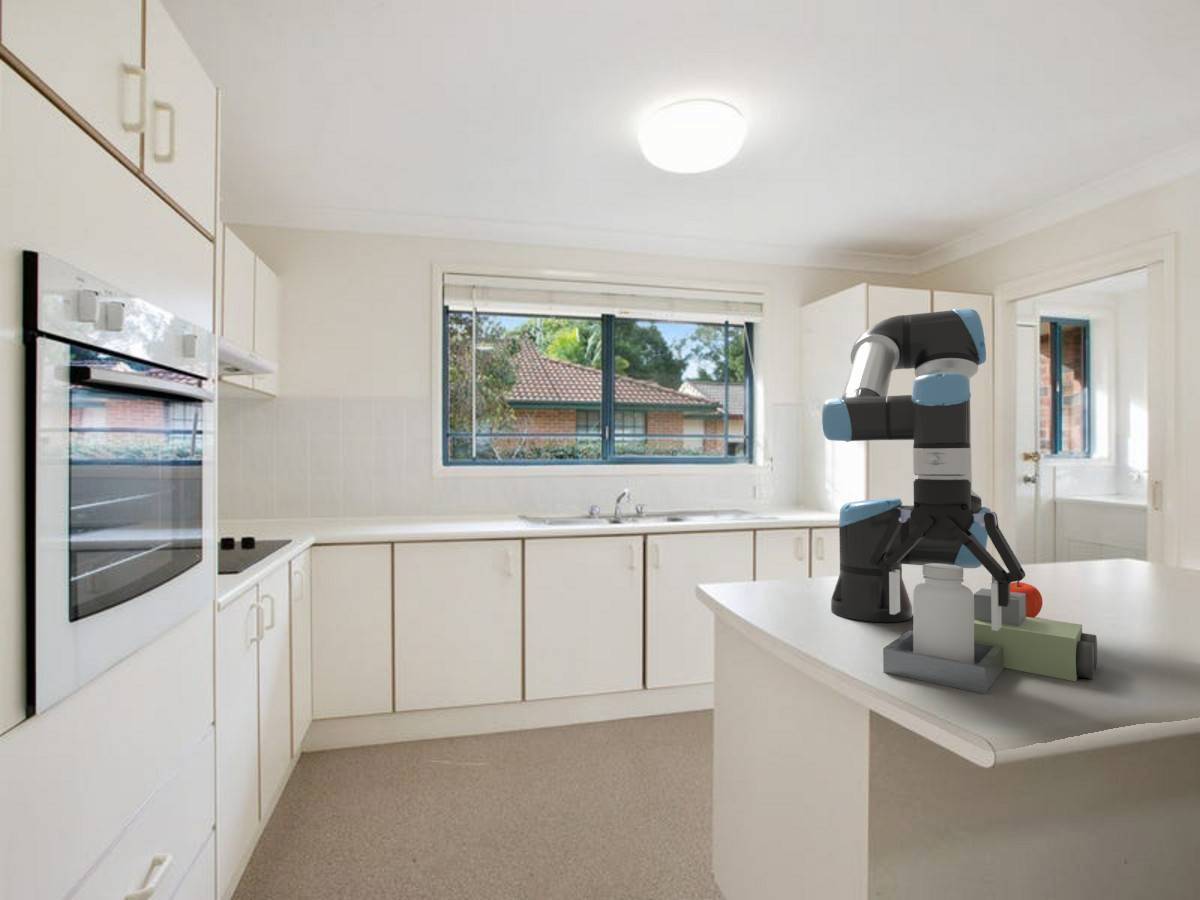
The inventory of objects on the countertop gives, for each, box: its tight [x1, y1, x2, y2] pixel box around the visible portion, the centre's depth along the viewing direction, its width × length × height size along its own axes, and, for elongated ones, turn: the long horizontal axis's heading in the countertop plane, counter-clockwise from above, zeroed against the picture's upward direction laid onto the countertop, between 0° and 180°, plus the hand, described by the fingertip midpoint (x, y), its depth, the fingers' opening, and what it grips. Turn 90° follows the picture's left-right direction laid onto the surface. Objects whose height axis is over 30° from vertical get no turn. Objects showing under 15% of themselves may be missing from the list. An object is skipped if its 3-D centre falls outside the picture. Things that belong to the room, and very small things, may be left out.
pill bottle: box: [912, 563, 974, 664], centre depth 92 cm, size 8×8×15 cm
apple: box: [1010, 581, 1044, 618], centre depth 122 cm, size 8×8×8 cm
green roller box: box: [973, 575, 1098, 682], centre depth 98 cm, size 21×11×13 cm, turn 48°
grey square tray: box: [882, 629, 1005, 695], centre depth 92 cm, size 13×13×4 cm
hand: (943, 620), depth 92 cm, fingers open, 13 cm apart
